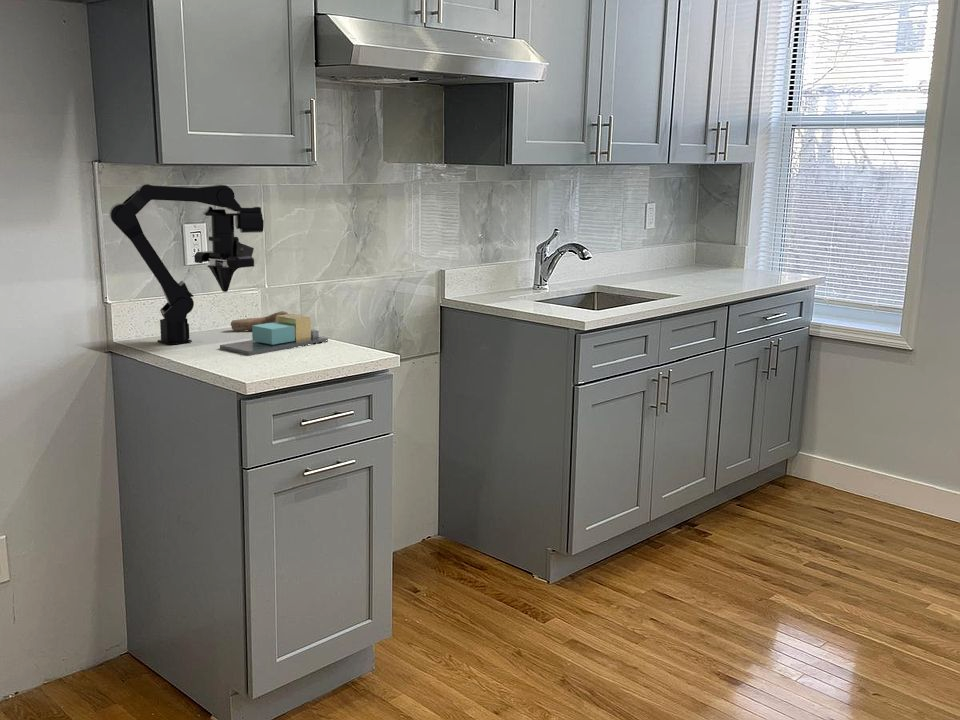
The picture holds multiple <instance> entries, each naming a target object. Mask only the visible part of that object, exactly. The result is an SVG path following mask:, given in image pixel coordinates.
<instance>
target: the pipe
mask: <svg viewBox="0 0 960 720" xmlns="http://www.w3.org/2000/svg"><path fill="white" fill-rule="evenodd" d="M285 314H289V313H288V312H287V311H283V310H281V311H277V312H274V313H272V314H270V315H268V316H263V317H249V318H240V319H239V318H238V319H233V320H232V321H231V322H230V326H231V329H232V330H233V331H234V332H245V331H244V330H252V325H259V324H266V323H273V322H276V316H278V315H285Z"/></svg>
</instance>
